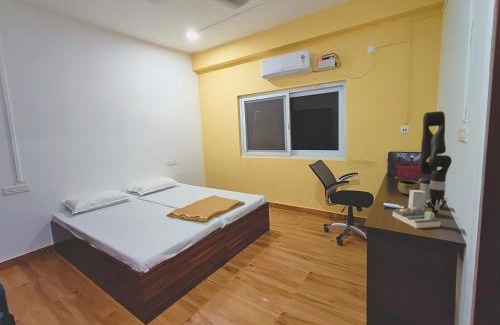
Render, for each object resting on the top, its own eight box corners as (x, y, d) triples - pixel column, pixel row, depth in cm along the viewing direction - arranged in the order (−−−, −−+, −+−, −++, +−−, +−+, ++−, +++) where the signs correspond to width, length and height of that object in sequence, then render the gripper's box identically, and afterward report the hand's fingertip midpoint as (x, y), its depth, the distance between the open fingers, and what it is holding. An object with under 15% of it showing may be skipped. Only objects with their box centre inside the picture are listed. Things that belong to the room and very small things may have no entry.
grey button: (408, 210, 161) (408, 206, 161) (415, 209, 162) (415, 206, 162) (414, 212, 156) (414, 209, 156) (421, 212, 157) (422, 208, 157)
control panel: (392, 216, 163) (393, 208, 162) (413, 214, 165) (414, 207, 165) (416, 228, 144) (417, 219, 143) (440, 226, 146) (441, 217, 145)
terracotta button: (397, 212, 161) (397, 209, 160) (404, 212, 161) (404, 208, 161) (403, 215, 156) (403, 211, 155) (410, 214, 156) (410, 211, 156)
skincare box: (411, 212, 170) (413, 191, 168) (407, 209, 176) (409, 189, 173) (424, 212, 169) (426, 192, 166) (419, 209, 174) (421, 189, 172)
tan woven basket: (422, 193, 215) (424, 177, 213) (424, 198, 201) (425, 180, 199) (393, 190, 227) (394, 174, 225) (393, 194, 213) (394, 178, 210)
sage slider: (424, 218, 150) (424, 211, 150) (428, 217, 151) (429, 211, 150) (429, 220, 146) (430, 213, 146) (434, 220, 147) (434, 213, 146)
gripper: (441, 186, 151) (438, 212, 153) (422, 187, 149) (419, 213, 151) (452, 188, 143) (449, 216, 146) (433, 190, 141) (430, 218, 144)
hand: (434, 215), depth 148 cm, fingers closed
